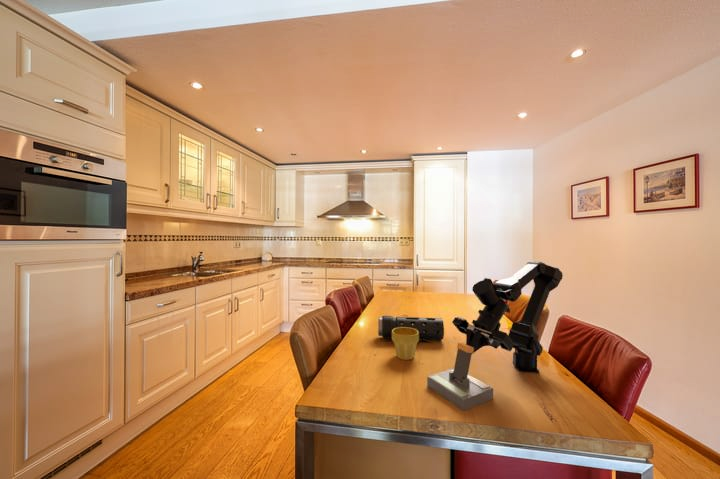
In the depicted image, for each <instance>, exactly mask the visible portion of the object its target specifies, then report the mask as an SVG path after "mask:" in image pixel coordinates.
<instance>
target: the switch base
mask: <svg viewBox="0 0 720 479" xmlns="http://www.w3.org/2000/svg"><path fill="white" fill-rule="evenodd" d="M453 372H454V367H452V368H449V369H447V370H443V371H441V372H436V373H434V374H431V375H427V378H426V381H427V383H426V384H427V387H428V388H429V389H430V390H432V391H434V392H435V393H437V394H438V395H440V396H441V397H443V398H444V399H445V400H446V401H448V402H450V403H451V404H453V405H455V406H456V407H457V408H459V409H460V410H462V411H463V412H465V411H467V410H470V409H472V408H474V407H476V406H479V405H482V404H484V403H487V402H488V401H491V400H493V399H494V388H493V387H492V386H491V385H488V384H486V383H484V382H482V381H480V380H479V379H477V378H475V377H473V376H472V375H469V374H468V377H467V378H465V379H463V383H461V382H460V381H458V380H456V379H454V378H453Z"/></svg>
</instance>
